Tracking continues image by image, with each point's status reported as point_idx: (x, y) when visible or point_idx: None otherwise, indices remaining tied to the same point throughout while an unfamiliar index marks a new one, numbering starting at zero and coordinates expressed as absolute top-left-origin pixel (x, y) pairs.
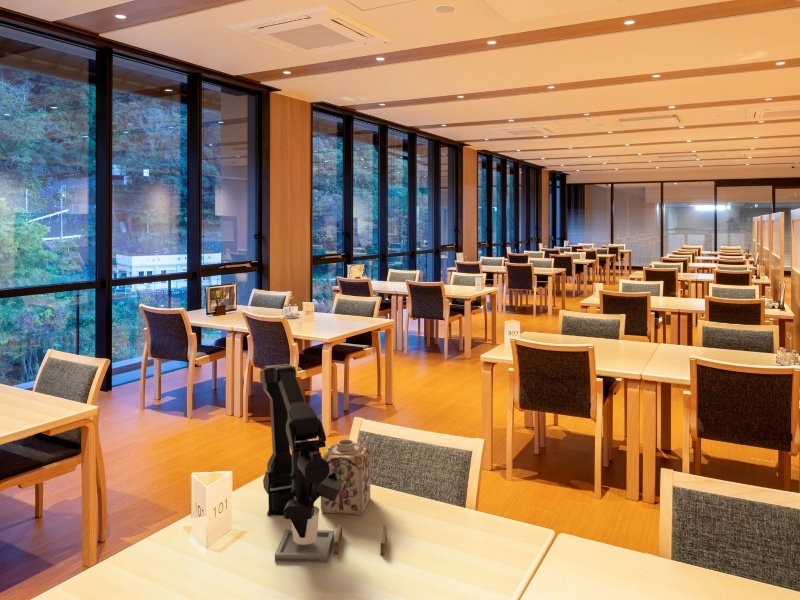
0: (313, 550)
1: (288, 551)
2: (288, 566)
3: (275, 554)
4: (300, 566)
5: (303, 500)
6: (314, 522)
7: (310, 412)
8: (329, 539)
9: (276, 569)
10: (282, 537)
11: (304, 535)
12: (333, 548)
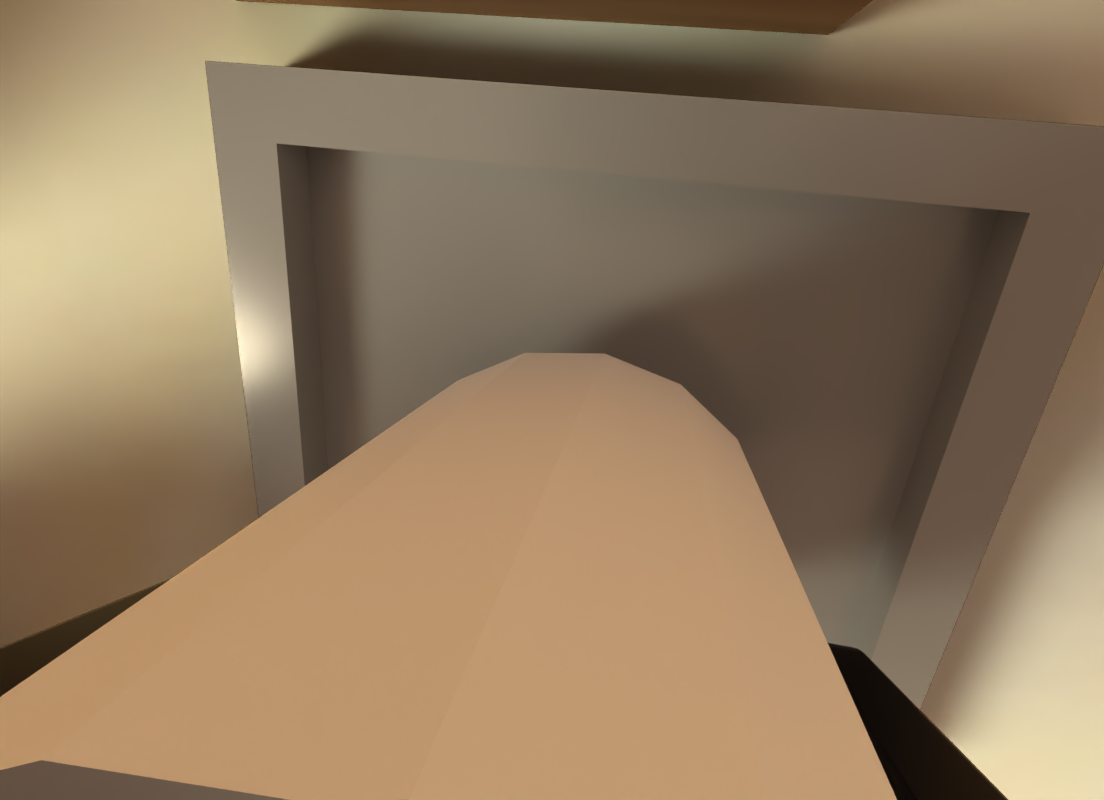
0: (753, 369)
1: None
2: (1017, 639)
3: None
4: (1069, 513)
5: None
6: (791, 679)
7: None
8: (514, 122)
9: (1048, 749)
10: None
11: (899, 694)
12: (856, 10)
